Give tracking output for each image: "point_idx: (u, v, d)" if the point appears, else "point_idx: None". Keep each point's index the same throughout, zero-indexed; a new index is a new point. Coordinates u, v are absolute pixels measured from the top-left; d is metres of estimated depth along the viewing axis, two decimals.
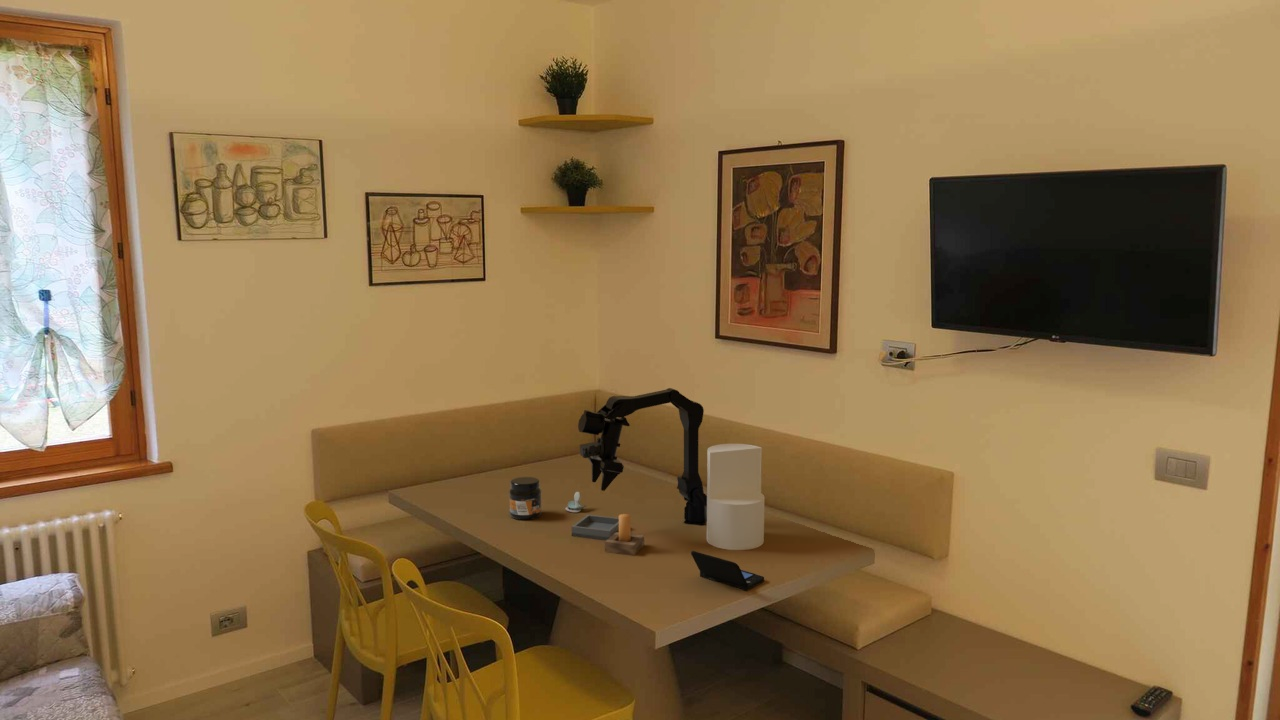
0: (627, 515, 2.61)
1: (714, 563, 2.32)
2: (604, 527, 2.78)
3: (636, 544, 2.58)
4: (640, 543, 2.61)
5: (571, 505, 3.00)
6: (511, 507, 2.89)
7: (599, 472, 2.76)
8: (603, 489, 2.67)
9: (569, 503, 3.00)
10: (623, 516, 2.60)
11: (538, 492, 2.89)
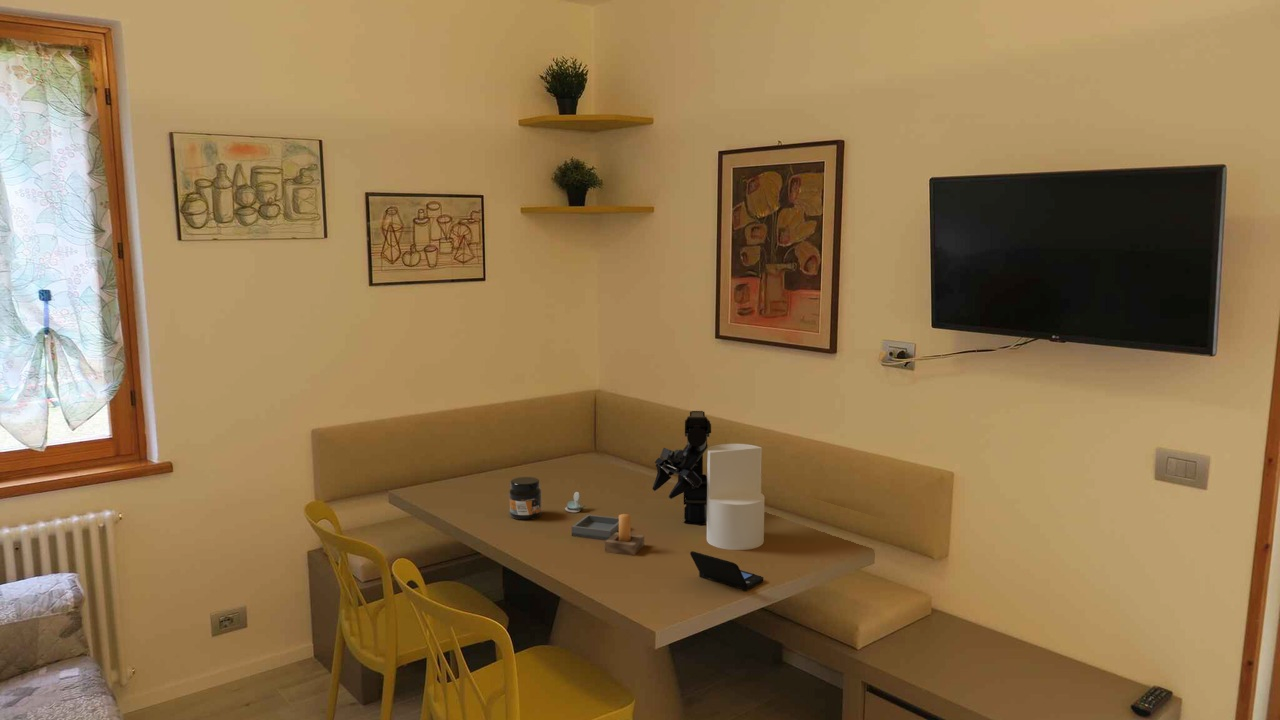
0: (627, 515, 2.61)
1: (713, 564, 2.32)
2: (604, 527, 2.78)
3: (636, 544, 2.58)
4: (640, 543, 2.61)
5: (570, 505, 3.00)
6: (511, 507, 2.89)
7: (661, 484, 2.76)
8: (671, 497, 2.67)
9: (568, 503, 3.00)
10: (623, 516, 2.60)
11: (538, 492, 2.89)
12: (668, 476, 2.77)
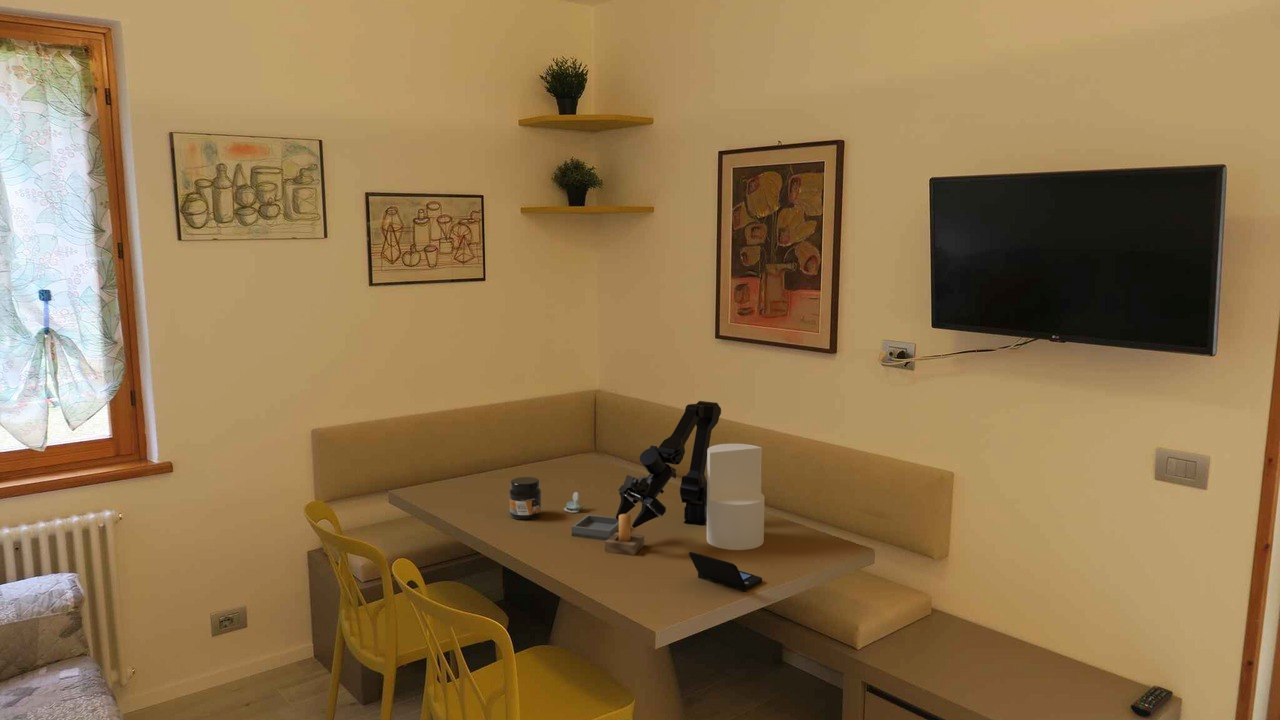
0: (627, 515, 2.61)
1: (712, 564, 2.31)
2: (604, 527, 2.78)
3: (636, 544, 2.58)
4: (640, 543, 2.61)
5: (570, 505, 2.99)
6: (511, 507, 2.89)
7: (625, 512, 2.66)
8: (634, 526, 2.57)
9: (568, 503, 3.00)
10: (623, 516, 2.60)
11: (538, 492, 2.89)
12: (632, 504, 2.68)
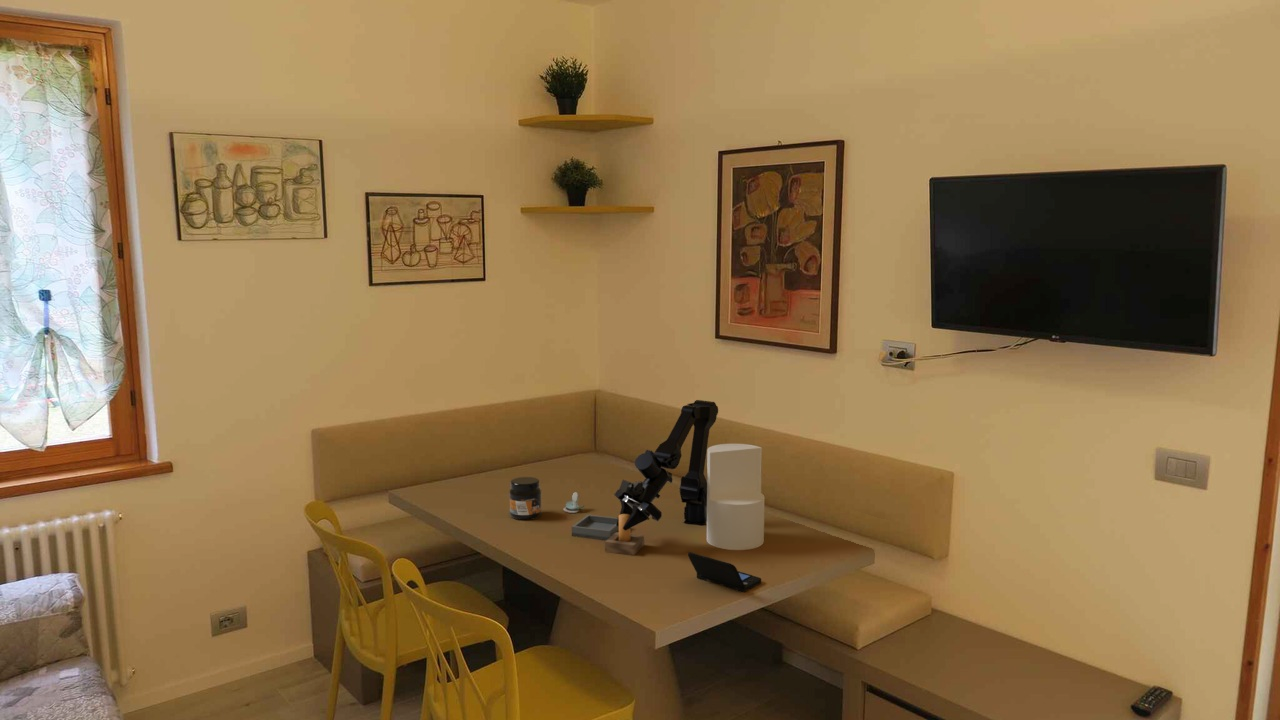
0: (627, 515, 2.61)
1: (711, 565, 2.31)
2: (604, 527, 2.78)
3: (636, 544, 2.58)
4: (640, 543, 2.61)
5: (569, 505, 2.99)
6: (511, 507, 2.89)
7: None
8: (625, 528, 2.59)
9: (567, 503, 3.00)
10: (623, 516, 2.60)
11: (538, 492, 2.89)
12: (633, 511, 2.65)
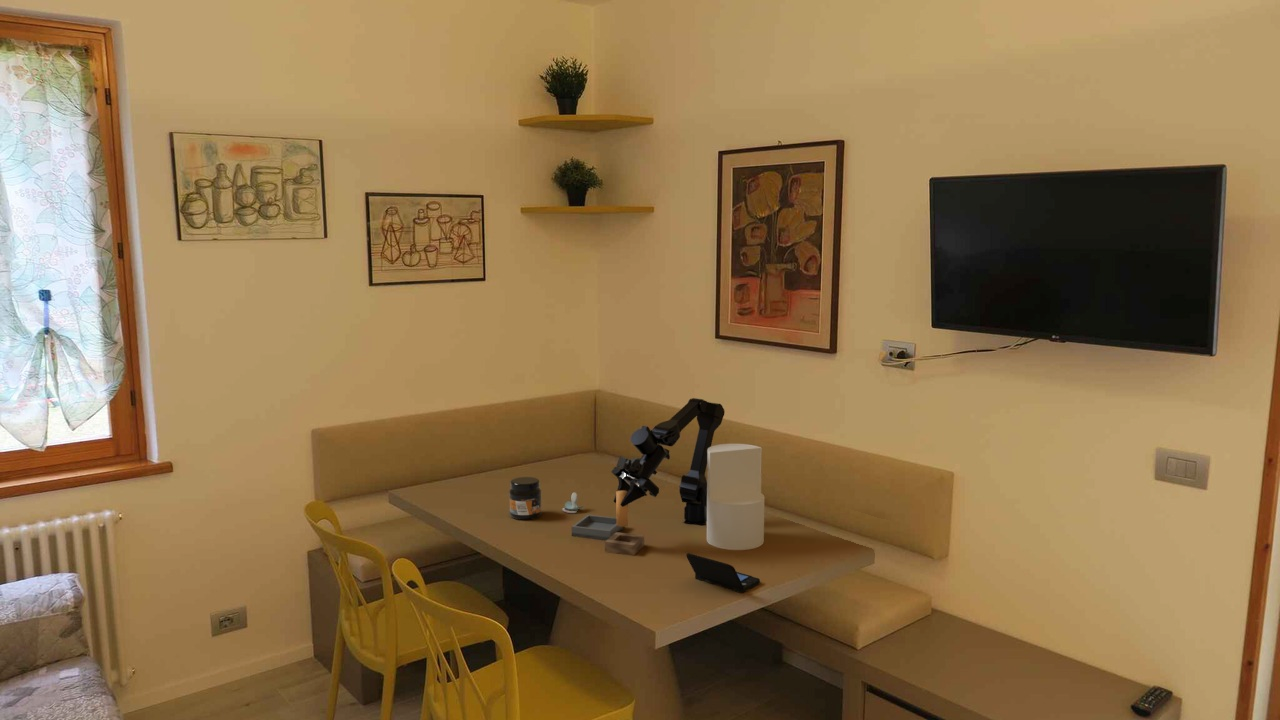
0: (624, 491, 2.61)
1: (709, 566, 2.30)
2: (604, 527, 2.78)
3: (636, 544, 2.58)
4: (640, 543, 2.61)
5: (568, 506, 2.99)
6: (511, 507, 2.89)
7: None
8: (623, 504, 2.59)
9: (566, 504, 3.00)
10: (620, 492, 2.60)
11: (538, 492, 2.89)
12: (630, 488, 2.65)
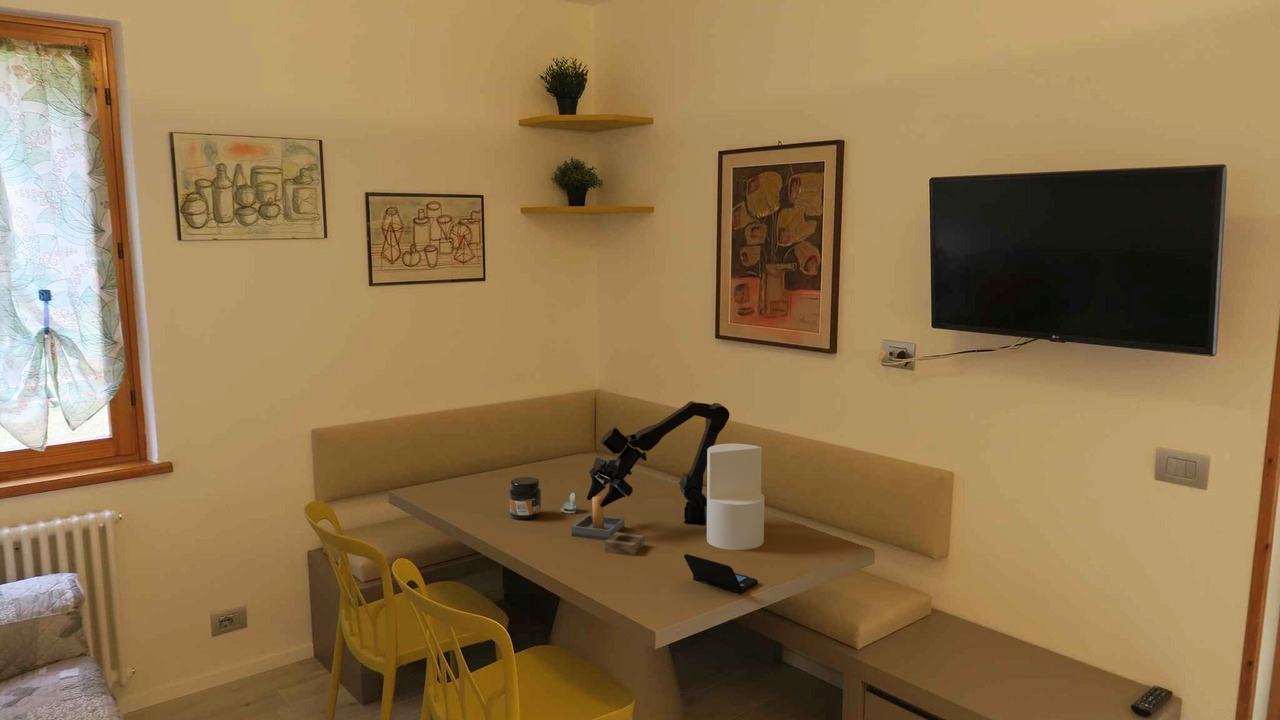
0: (600, 497, 2.75)
1: (707, 566, 2.30)
2: (604, 527, 2.78)
3: (636, 544, 2.58)
4: (640, 543, 2.61)
5: (567, 506, 2.99)
6: (511, 507, 2.89)
7: (596, 493, 2.79)
8: (602, 505, 2.71)
9: (565, 504, 2.99)
10: (596, 498, 2.74)
11: (538, 492, 2.89)
12: (603, 486, 2.81)
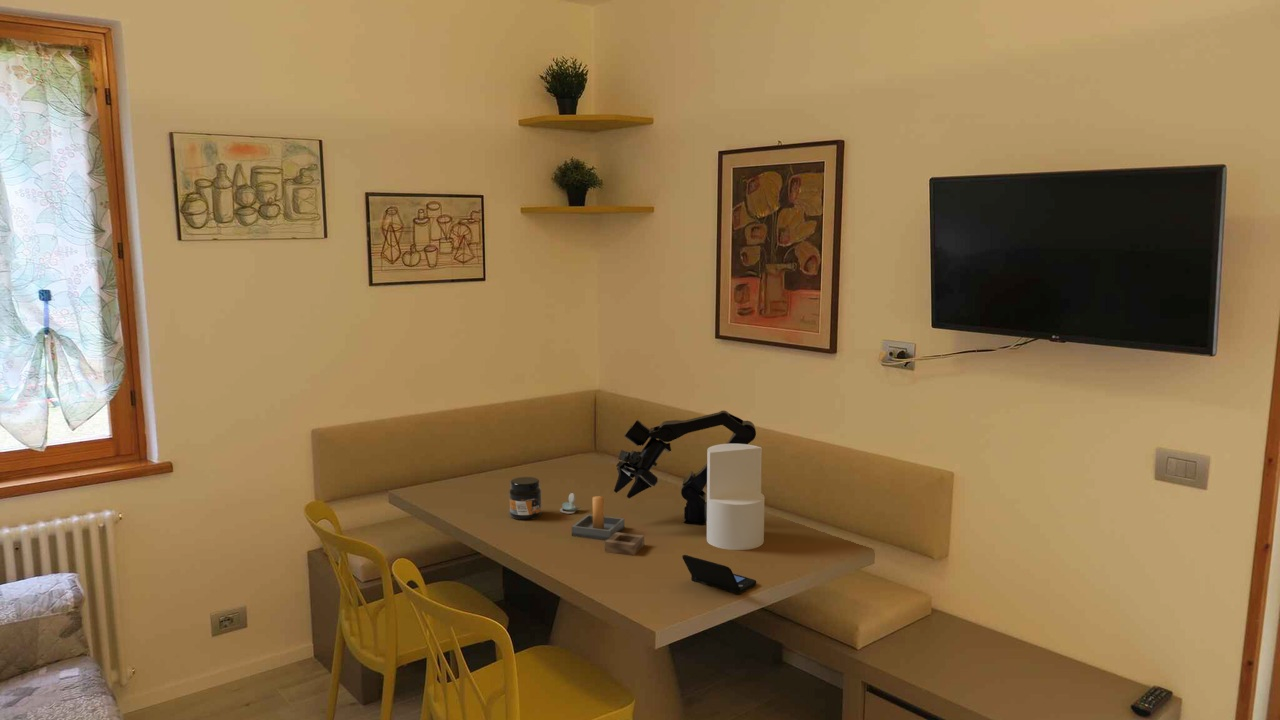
0: (600, 497, 2.75)
1: (706, 567, 2.29)
2: (604, 527, 2.78)
3: (636, 544, 2.58)
4: (640, 543, 2.61)
5: (566, 506, 2.98)
6: (511, 507, 2.89)
7: (623, 485, 2.85)
8: (629, 496, 2.75)
9: (564, 504, 2.99)
10: (597, 498, 2.74)
11: (538, 492, 2.89)
12: (629, 478, 2.87)
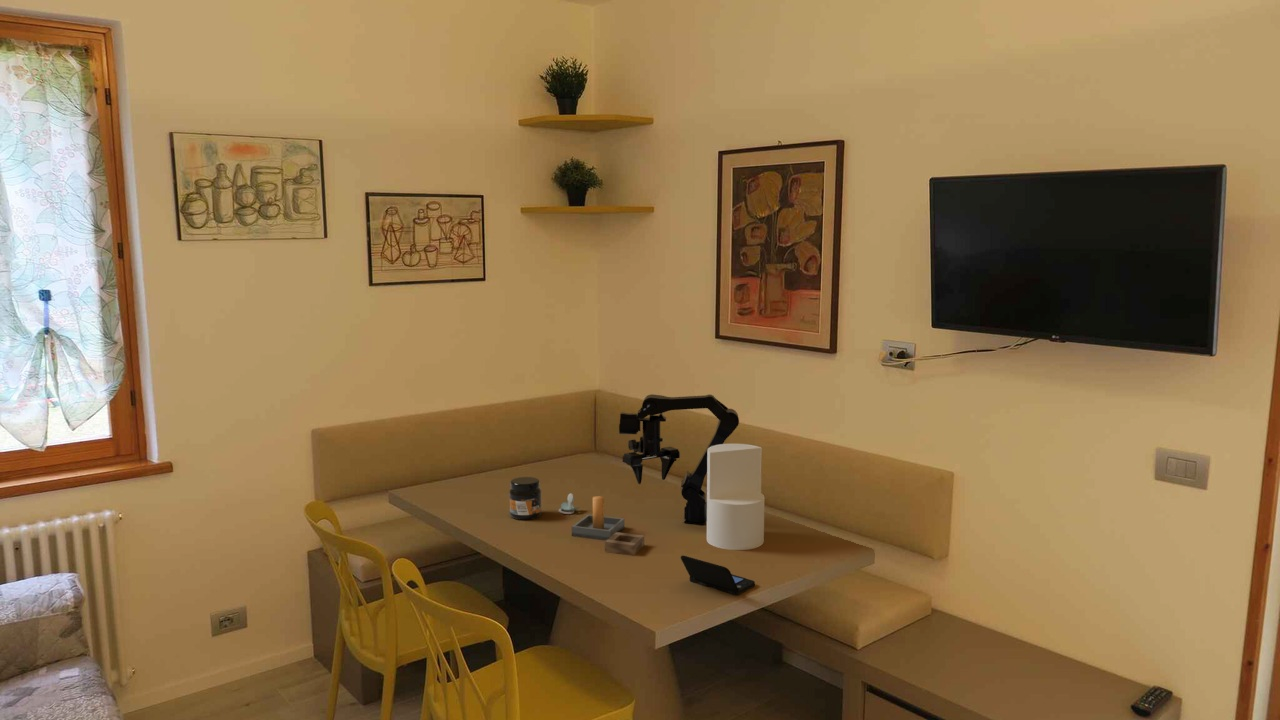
0: (601, 497, 2.75)
1: (704, 568, 2.29)
2: (604, 527, 2.78)
3: (636, 544, 2.58)
4: (640, 543, 2.61)
5: (564, 507, 2.98)
6: (511, 507, 2.89)
7: (665, 470, 2.87)
8: (638, 482, 2.83)
9: (562, 505, 2.99)
10: (597, 498, 2.74)
11: (538, 492, 2.89)
12: (667, 461, 2.86)
